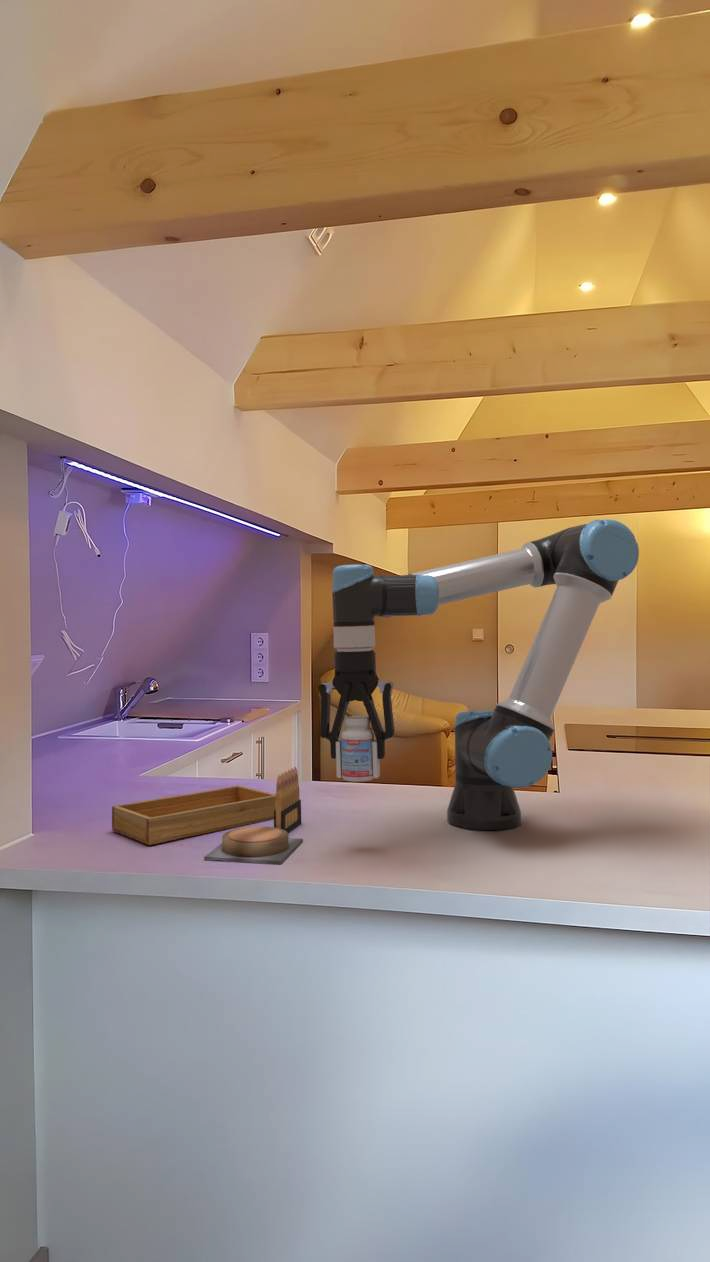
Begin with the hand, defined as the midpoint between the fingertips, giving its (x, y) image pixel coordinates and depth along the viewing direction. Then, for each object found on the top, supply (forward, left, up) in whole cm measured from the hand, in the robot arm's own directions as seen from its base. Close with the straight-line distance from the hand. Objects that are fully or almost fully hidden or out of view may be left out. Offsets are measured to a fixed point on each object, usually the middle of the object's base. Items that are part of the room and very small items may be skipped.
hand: (358, 776), depth 142 cm
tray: (+36, -11, -14) cm, 40 cm away
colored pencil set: (+17, -11, -14) cm, 24 cm away
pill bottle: (0, 0, -1) cm, 1 cm away
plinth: (+18, +4, -13) cm, 23 cm away
